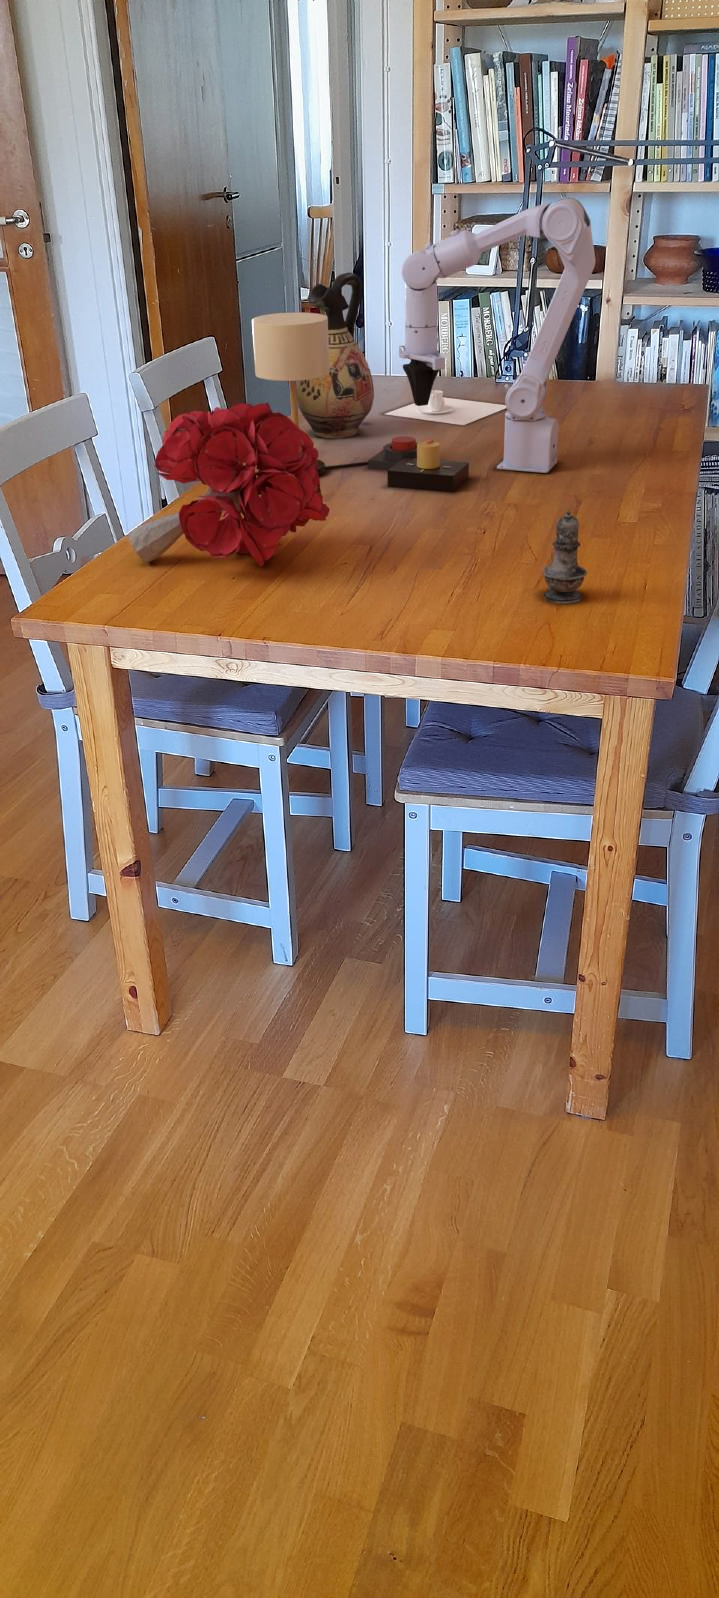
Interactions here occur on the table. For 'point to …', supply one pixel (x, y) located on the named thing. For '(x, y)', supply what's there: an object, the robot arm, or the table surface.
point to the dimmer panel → (428, 476)
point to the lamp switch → (403, 443)
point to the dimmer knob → (428, 454)
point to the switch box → (390, 457)
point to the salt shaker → (565, 564)
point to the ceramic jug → (338, 367)
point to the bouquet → (236, 483)
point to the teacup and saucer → (448, 410)
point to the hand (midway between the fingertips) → (421, 404)
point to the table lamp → (293, 354)
